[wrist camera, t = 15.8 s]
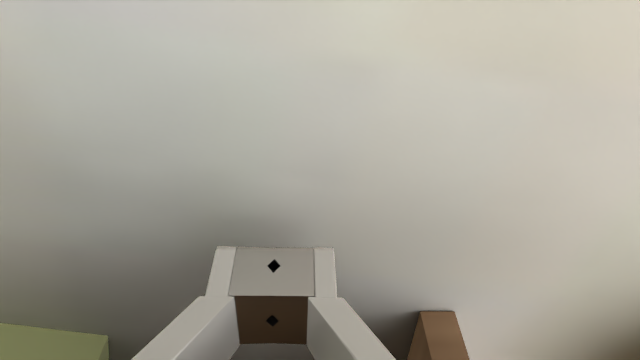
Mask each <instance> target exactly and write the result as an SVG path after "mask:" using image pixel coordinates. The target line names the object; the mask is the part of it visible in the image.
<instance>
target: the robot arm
mask: <svg viewBox="0 0 640 360" xmlns="http://www.w3.org/2000/svg"><path fill="white" fill-rule="evenodd" d="M259 343H283V344H307V347H308V349H309V351H310V352H311V354H312V356H313V357H314V359H315V360H396V359H395V358H394V357H393V356H392V354H391V353H390V352H389V351H388V350H387V348H386V347H385V346H384V345H383V344H382V343H381V341H380V340H379V339H378V338H377V337H376V336H375V334H374V333H373V332H372V331H371V330H370V329H369V327H368V326H367V325H366V324H365V323H364V321H363V320H362V319H361V318H360V317H359V316H358V314H357V313H356V312H355V311H354V310H353V309H352V307H351V306H350V305H349V304H348V303H347V302H346V300H345V299H344V298H343V297H337V285H336V270H335V255H334V249H333V248H314V249H313V248H296V247H276V248H269V247H242V246H238V247H231V246H218V247H217V249H216V250H215V254H214V258H213V263H212V267H211V271H210V276H209V280H208V284H207V288H206V293H205V296H199V297H198V298H196V299H195V300H194V301H193V302H192V303H191V304H190V305H189V306H188V307H187V308H186V309H185V310H184V311H183V312H181V313H180V314H179V315H178V316H177V317H176V318H175V319H174V320H173V321H172V322H171V323H170V324H169V325H168V326H167V327H165V328H164V329H163V330H162V331H161V332H160V333H159V334H158V335H157V336H156V337H155V338H154V339H153V340H152V341H150V342H149V343H148V344H147V345H146V346H145V347H144V348H143V349H142V350H141V351H140V352H139V353H138V354H137V355H136V356H134V357H133V358H132V359H131V360H230V358H231V357H232V356H233V354H234V353H235V352H236V350H237V349H238V347H239V346H240V345H239V344H259Z"/></svg>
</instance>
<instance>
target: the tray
mask: <svg viewBox="0 0 640 360" xmlns="http://www.w3.org/2000/svg"><path fill="white" fill-rule="evenodd" d="M0 360H109V345H108V336H105V335H96V334H88V333H80V332H72V331H63V330H55V329H47V328H39V327H30V326H22V325H14V324H6V323H0Z"/></svg>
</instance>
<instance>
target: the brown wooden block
mask: <svg viewBox="0 0 640 360" xmlns="http://www.w3.org/2000/svg"><path fill="white" fill-rule="evenodd" d="M407 360H469V356H468V353H467V350H466V347H465V344H464V341H463V337H462V334H461V331H460V328H459V325H458V321H457V318H456V315H455V312H442V311H420V314H419V317H418V321H417V325H416V329H415V332H414V336H413V340H412V343H411V347H410V351H409V355H408V358H407Z"/></svg>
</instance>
